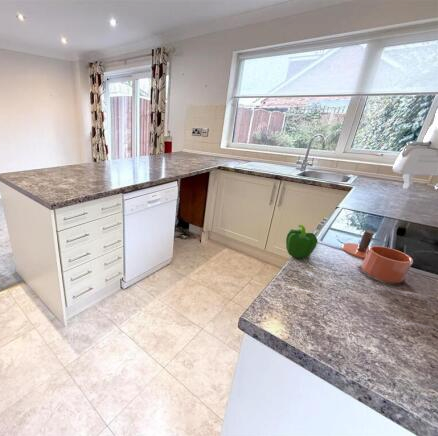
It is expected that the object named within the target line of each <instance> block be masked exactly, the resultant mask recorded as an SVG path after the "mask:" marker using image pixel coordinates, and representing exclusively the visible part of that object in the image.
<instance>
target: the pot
mask: <svg viewBox="0 0 438 436" xmlns="http://www.w3.org/2000/svg"><path fill="white" fill-rule="evenodd" d="M368 247H369V249H368V252H367V254H366V256H365V259H363V261H362V263H361V266H360V268H361V269H362V271H363V272H365V273H366V274H368V275H369V276H372V277H373V278H375V279H378V280H381V281H384V282H388V283H394V284H395V283H402V282H403V281H404V279H405V278H406V276H407V274H408V272H409V270H410V269H411V266H412V265H413V263H414V259H413V258H412V257H411V256H410V255H409V254H407V253H405V252H403V251H400V250H397V249H396V248H395V249H394V248H391V247H388V246H382V245H372V246H368Z"/></svg>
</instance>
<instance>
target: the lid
mask: <svg viewBox="0 0 438 436" xmlns="http://www.w3.org/2000/svg"><path fill="white" fill-rule="evenodd" d="M374 235H375V232H374V231H372V230H367V229H365V230H364V231H363V233H362V236H361V238H360V241H359V243H352V242H347V243H343V245H342V249H343V251H345V252H346V253H348V254H349V255H352V256H354V257H357V258H359V259H362V260H364V259H365V256H366V254H367V252H368V249H369V247H370V244H371V241H372V239H373V238H374Z"/></svg>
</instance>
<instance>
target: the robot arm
mask: <svg viewBox="0 0 438 436" xmlns="http://www.w3.org/2000/svg"><path fill="white" fill-rule="evenodd" d="M392 171H393V172H394V173H396V174H401V175H402V179H403V183H402V184H403V185H402V189H404V190H413V189H414V186H415V183H413V180H412V179H414V178H415V177H416V176H417V175H419V176H438V109H437V110H436V112H435V116H434V121H433V123H432V125H431V126H430V127H429V129H428V130H427V133H426V135H425V136H424V139H423V140H422V141H416V140H414V141H411V142H409V143H407V144H406V145H405V146H404V147H403V149H402V151H400V154H399V155H398V157H397V158H396V160H395V161H394V164H393V166H392ZM434 190H435V191H438V183H436V184H435V186H434Z"/></svg>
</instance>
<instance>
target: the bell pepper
mask: <svg viewBox="0 0 438 436" xmlns="http://www.w3.org/2000/svg"><path fill="white" fill-rule="evenodd" d="M285 239H286V240H285V241H286V242H285V245H286V251H287V253H288V255H289V256H290V257H293V258H296V259H302V258H308V257H310V256H311V254H312V253H313V252H314V250H315V249H316V248H317V244H318V238H317V236H316V235H315V233H313V232H306V227H305V226H304V225H303V224H298V229H292V228H291V229H290V230H289V231H288V233H287V235H286V237H285Z"/></svg>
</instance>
